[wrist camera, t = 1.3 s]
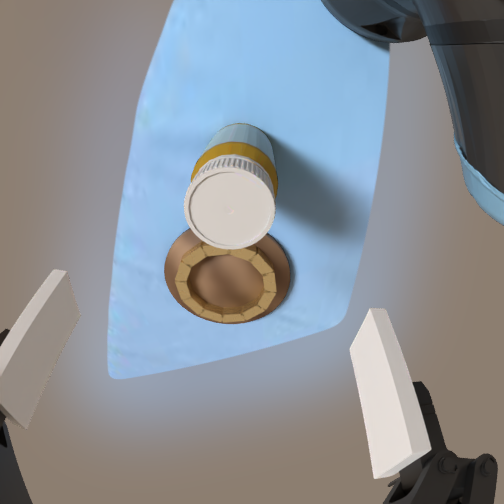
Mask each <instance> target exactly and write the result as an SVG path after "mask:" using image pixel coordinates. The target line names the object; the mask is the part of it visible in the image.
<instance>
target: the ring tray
mask: <svg viewBox="0 0 504 504" xmlns="http://www.w3.org/2000/svg"><path fill="white" fill-rule="evenodd" d="M164 273H165V280H166V283H167V286H168V288H169V290H170V292H171V294H172V295H173V297H174V298H175V299H176V301H177V302H178V303H179V304H180V305H181V306H182V307H184V308H185V309H186V310H188V311H189V312H191V313H192V314H194V315H196V316H198V317H200V318H203V319H205V320H208V321H212V322H216V323H223V324H239V323H246V322H250V321H254V320H257V319H259V318H261V317H264V316H265V315H267V314H269V313H270V312H272V311H273V310H274V309H275V308H276V307H277V306H278V305H279V304H280V303H281V302H282V300H283V299H284V297H285V296H286V294H287V291H288V288H289V284H290V269H289V263H288V260H287V257H286V255H285V253H284V251H283V249H282V248H281V246H280V245H279V243H278V242H277V241H276V240H275V239H274V238H273V237H271V236H270V235H269V234H268V233H266V234H265V236H264V237H263V238H261V239H260V240H259V241H258V242H256V243H254V244H252V245H250V246H248V247H245V248H241V249H221V248H217V247H214V246H211V245H209V244H207V243H205V242H204V241H202V240H201V239H200V238H199V237H197V236H196V235H195V233H194V232H193V231H192V230H191V228H189V229H188V230H186V231H185V232H183V233H182V234H181V235H180V236H179V237H178V238H177V239H176V240H175V242H174V243H173V245H172V246H171V248H170V250H169V252H168V255H167V258H166V261H165V268H164Z"/></svg>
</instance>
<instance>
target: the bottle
mask: <svg viewBox="0 0 504 504" xmlns="http://www.w3.org/2000/svg"><path fill="white" fill-rule="evenodd" d="M277 189H278V177H277V172H276V166H275V160H274V155H273V150H272V145H271V143H270V141H269V139H268V138H267V136H266V135H265V134H264V133H263V132H262V131H261V130H260V129H258V128H257V127H254V126H252V125H249V124H242V123H236V124H232V125H228V126H226V127H224V128H223V129H221V130H220V131H218V132H217V133H216V135H215V136H214V137H213V138H212V139H211V141H210V143H209V144H208V146H207V147H206V149H205V150H204V152H203V153H202V155H201V156H200V158H199V159H198V161H197V163H196V165H195V167H194V170H193V173H192V176H191V184H190V186H189V188H188V190H187V192H186V195H185V200H184V212H185V217H186V220H187V223H188V225H189V227H190V228H191V230H192V231H193V232H194V233H195V235H196V236H197V237H199V238H200V239H201V240H202V241H204V242H205V243H207V244H209V245H211V246H214V247H217V248H221V249H241V248H245V247H248V246H250V245H252V244H254V243H256V242H258V241H259V240H260V239H261V238H263V237H264V236H265V234H266V233H267V232H268V231H269V229H270V227H271V225H272V223H273V220H274V218H275V210H276V206H275V205H276V204H275V198H276V195H277Z"/></svg>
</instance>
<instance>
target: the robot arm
mask: <svg viewBox="0 0 504 504" xmlns="http://www.w3.org/2000/svg"><path fill="white" fill-rule="evenodd" d="M321 1H322V3H323V4H324V6H325V7H326V8H327V9H328V10H329V12H330V13H331V14H332V15H333V16H334V17H335V18H336V19H337V20H339V21H340V22H341V23H342V24H344V25H345V26H346V27H348V28H349V29H351V30H353V31H354V32H356V33H358V34H360V35H362V36H365V37H367V38H370V39H373V40H377V41H381V42H388V43H400V42H410V41H415V40H418V39H421V38H423V37H426V36H428V39H429V42H430V46H431V48H432V51H433V54H434V57H435V60H436V63H437V66H438V69H439V72H440V75H441V78H442V82H443V85H444V89H445V92H446V96H447V100H448V105H449V109H450V113H451V118H452V123H453V128H454V142H455V147H456V150H457V152H458V154H459V156H460V160H461V165H462V171H463V176H464V180H465V184H466V186H467V188H468V191H469V193H470V194H471V195H472V196H473V197H474V198H475V200H476V202H477V203H478V205H479V206H480V207H481V208H482V209H483V211H485V212H486V213H487V214H488V215H489V216H490V217H492V218H493V219H494V220H496V221H497V222H499V223H500V224H502V225H503V226H504V0H321ZM80 316H81V315H80V312H79V309H78V306H77V303H76V300H75V297H74V294H73V290H72V287H71V283H70V280H69V276H68V273H67V271H62V270H56V269H54V270H53V271H52V272H51V274H50V275H49V276H48V278H47V279H46V280H45V282H44V283H43V284H42V286H41V287H40V288H39V290H38V291H37V292H36V294H35V295H34V296H33V298H32V299H31V301H30V302H29V304H28V305H27V306H26V308H25V309H24V311H23V312H22V314H21V315H20V317H19V318H18V320H17V321H16V323H15V324H14V326H13V327H12V329H11V330H8V329H5V330H4V331H3V332H2V333H0V504H33V503H32V501H31V499H30V497H29V494H28V491H27V489H26V486H25V483H24V481H23V478H22V475H21V472H20V470H19V466H18V463H17V460H16V457H15V454H14V450H13V447H12V444H11V440H10V436H9V432H8V428H7V425H6V424H5V421H4V420H5V418H6V417H7V418H8V419H9V420H10V421H11V422H12V423H13V424H15V425H17V426H19V427H21V428H23V429H25V430H27V428H28V425H29V423H30V420H31V418H32V415H33V413H34V411H35V408H36V406H37V404H38V401H39V399H40V397H41V394H42V392H43V390H44V388H45V385H46V383H47V381H48V379H49V377H50V375H51V373H52V370H53V368H54V366H55V364H56V362H57V360H58V358H59V356H60V354H61V352H62V350H63V348H64V346H65V344H66V342H67V340H68V339H69V337H70V335H71V333H72V331H73V329H74V327H75V325H76V324H77V322H78V320H79V318H80ZM350 354H351V358H352V363H353V367H354V372H355V376H356V381H357V386H358V391H359V395H360V401H361V405H362V411H363V416H364V421H365V427H366V432H367V438H368V444H369V450H370V456H371V462H372V469H373V475H374V479H377V478H383V477H389V476H392V475H394V474H396V473H397V472H399V473H400V477H399V478H397V479H395V480H394V481H392V482H390V483H389V485H388V487H390V486H392V485H394V484H395V485H394V486H393V488H392V490H391V491H390V493H389V494H388V496H387V498H386V499H385V501H384V502H383V504H494V497H495V490H496V482H497V471H498V468H497V462H496V459H495V458H494V457H493V456H492V455H490V454H482V455H481V456H479V457H478V458H476V459H468V458H458V457H457V456H456V454H455V453H453V452H452V451H449V450H448V449H447V448H446V445H445V443H444V439H443V435H442V432H441V428H440V425H439V421H438V418H437V415H436V414H435V409H434V405H432V399H431V396H430V393H429V391H428V390H427V388H426V387H425V386H424V384H423V383H422V382H421V381H420V382H412V381H411V378H410V374H409V371H408V368H407V365H406V363H405V360H404V357H403V354H402V351H401V349H400V346H399V343H398V340H397V337H396V335H395V332H394V330H393V327H392V324H391V322H390V319H389V317H388V314H387V312H386V309H378V308H370V309H369V312H368V313H367V316H366V318H365V320H364V322H363V324H362V326H361V328H360V330H359V332H358V334H357V336H356V337H355V339H354V341H353V343H352V345H351V347H350Z"/></svg>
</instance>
